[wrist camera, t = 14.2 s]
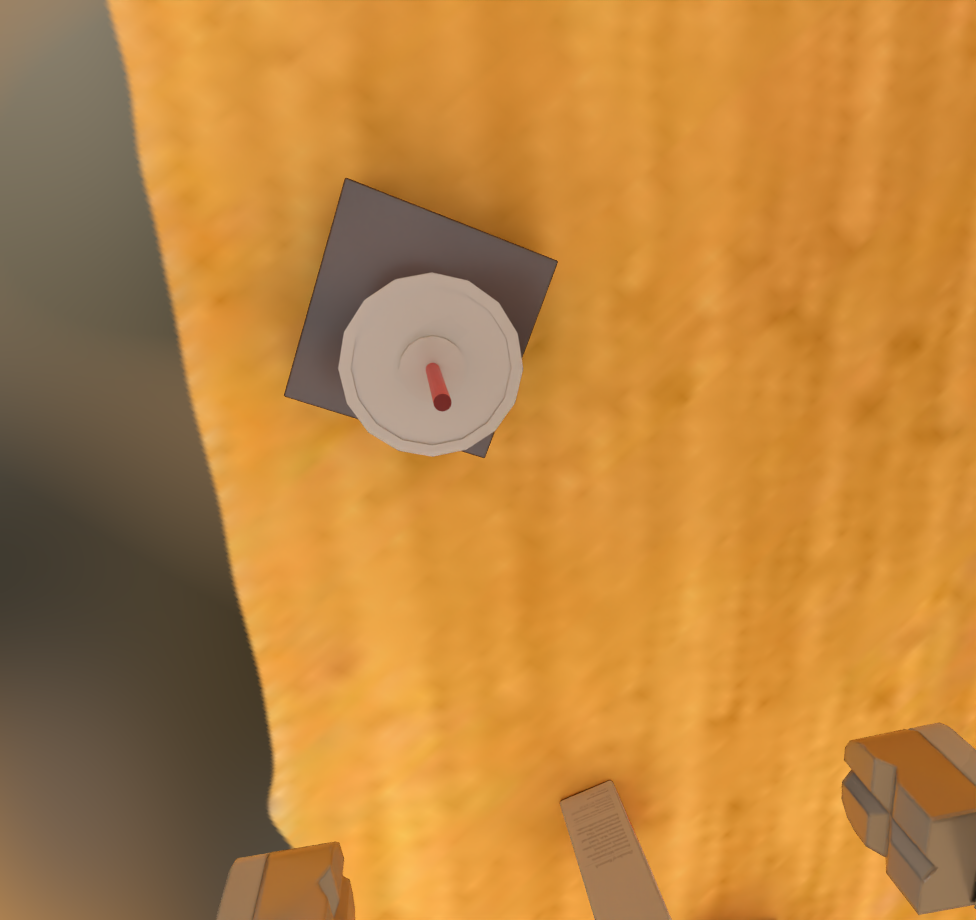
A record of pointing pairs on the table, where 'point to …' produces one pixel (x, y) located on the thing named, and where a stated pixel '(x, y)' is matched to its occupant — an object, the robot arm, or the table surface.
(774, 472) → the table surface
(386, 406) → the beverage cup
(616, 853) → the cosmetic box
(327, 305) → the walnut block
